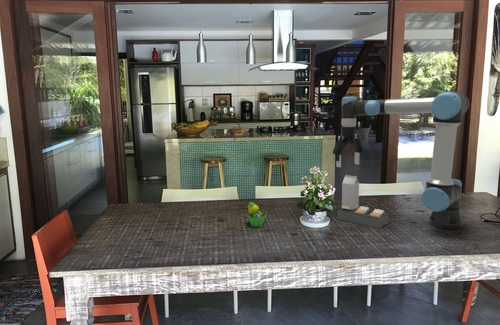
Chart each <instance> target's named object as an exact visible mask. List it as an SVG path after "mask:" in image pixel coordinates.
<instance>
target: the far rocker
mask: <svg viewBox="0 0 500 325" xmlns="http://www.w3.org/2000/svg"><path fill="white" fill-rule="evenodd" d="M342 208H345V209H350V210H354V209H355V207H350V206H344V205H343V206H342V205H341V209H342Z"/></svg>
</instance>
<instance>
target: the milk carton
mask: <svg viewBox="0 0 500 325" xmlns="http://www.w3.org/2000/svg"><path fill="white" fill-rule="evenodd" d="M341 185H342V186H341V209H343V208H342V206H343V205H344V206H350V207H355V208H358V209H359V205H360V204H359V200H360V198H359V197H360V181H359V179H358V176H356V175H347V174H345V175H344V178H343V181H342V183H341Z"/></svg>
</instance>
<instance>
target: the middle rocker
mask: <svg viewBox="0 0 500 325" xmlns="http://www.w3.org/2000/svg"><path fill="white" fill-rule="evenodd" d="M367 211H370V207H368V206H362V205H361V206H359V207H358V210H357V211H355V213H358V214H363V215H364V214H365V213H366V212H367Z"/></svg>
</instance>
